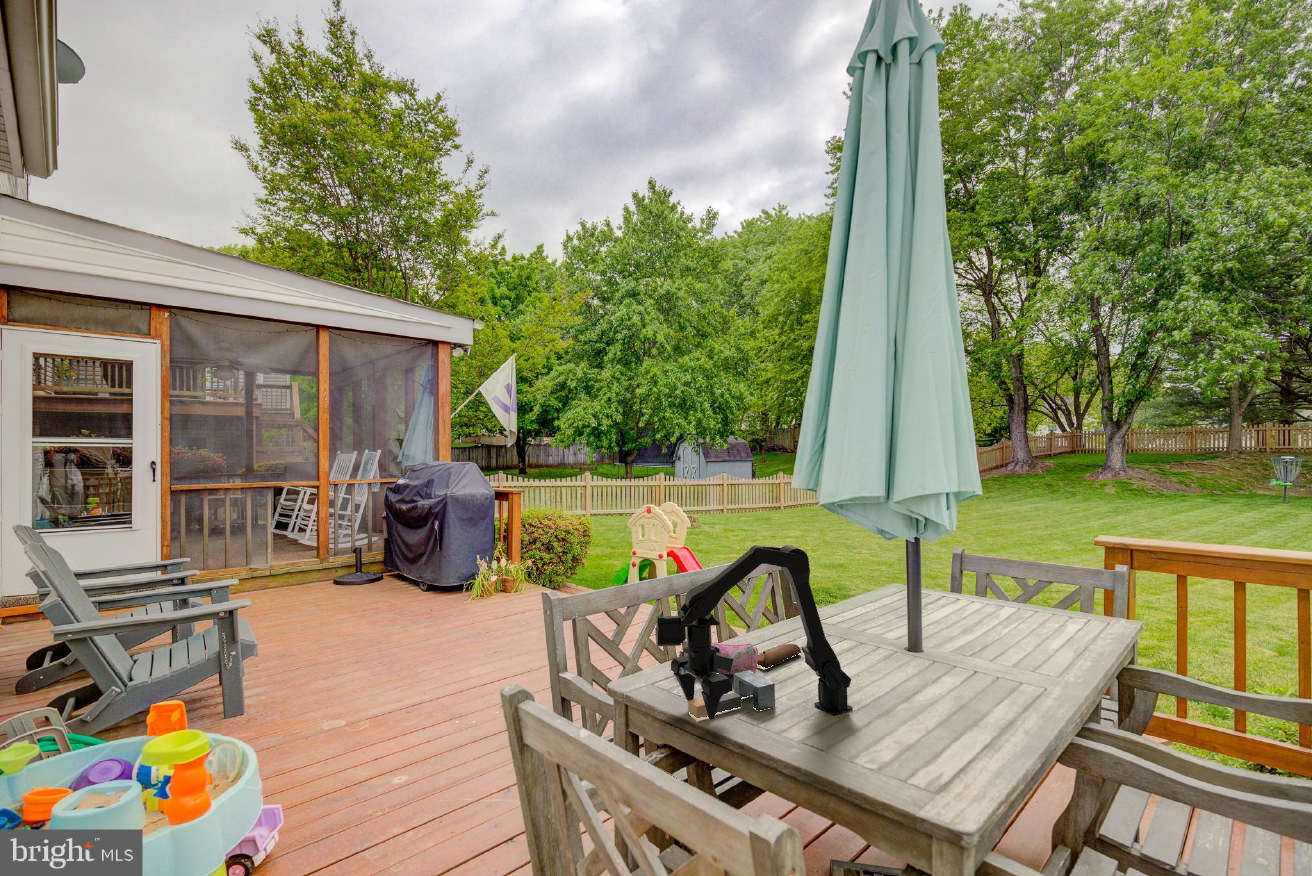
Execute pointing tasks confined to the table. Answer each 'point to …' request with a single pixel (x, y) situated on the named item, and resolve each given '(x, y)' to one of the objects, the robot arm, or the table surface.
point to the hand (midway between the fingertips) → (700, 711)
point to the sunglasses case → (777, 654)
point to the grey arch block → (755, 689)
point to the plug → (725, 703)
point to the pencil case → (736, 657)
